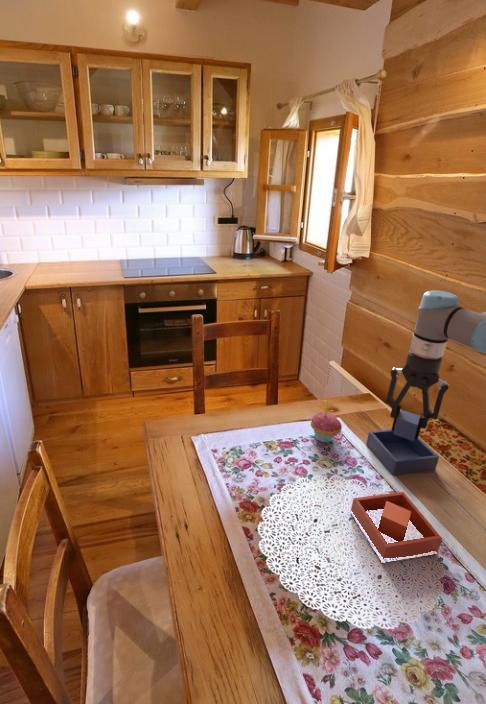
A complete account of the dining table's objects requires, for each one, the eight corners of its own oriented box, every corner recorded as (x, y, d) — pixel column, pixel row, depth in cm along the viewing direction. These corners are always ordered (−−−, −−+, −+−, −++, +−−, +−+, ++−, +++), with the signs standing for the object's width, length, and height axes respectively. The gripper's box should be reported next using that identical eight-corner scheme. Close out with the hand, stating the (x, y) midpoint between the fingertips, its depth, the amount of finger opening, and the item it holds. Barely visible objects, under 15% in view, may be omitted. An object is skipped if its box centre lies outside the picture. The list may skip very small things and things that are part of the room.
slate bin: (435, 471, 106) (439, 457, 104) (392, 476, 103) (395, 461, 102) (405, 440, 118) (408, 427, 116) (365, 444, 115) (368, 431, 113)
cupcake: (303, 430, 120) (308, 395, 115) (328, 426, 122) (334, 392, 118) (318, 449, 112) (324, 412, 108) (345, 444, 114) (352, 408, 110)
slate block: (416, 431, 109) (420, 416, 107) (413, 441, 105) (417, 425, 103) (396, 424, 111) (400, 409, 109) (393, 434, 107) (397, 418, 105)
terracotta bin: (437, 554, 82) (442, 538, 81) (381, 564, 80) (386, 547, 78) (399, 506, 94) (403, 491, 92) (349, 513, 91) (353, 498, 90)
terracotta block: (406, 529, 87) (411, 511, 86) (401, 545, 84) (407, 527, 82) (382, 518, 90) (386, 500, 88) (377, 533, 86) (381, 515, 84)
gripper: (384, 348, 101) (366, 426, 109) (466, 369, 92) (440, 453, 100) (390, 338, 107) (373, 413, 115) (468, 358, 98) (444, 438, 106)
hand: (405, 432), depth 108 cm, fingers closed on slate block, 5 cm apart
